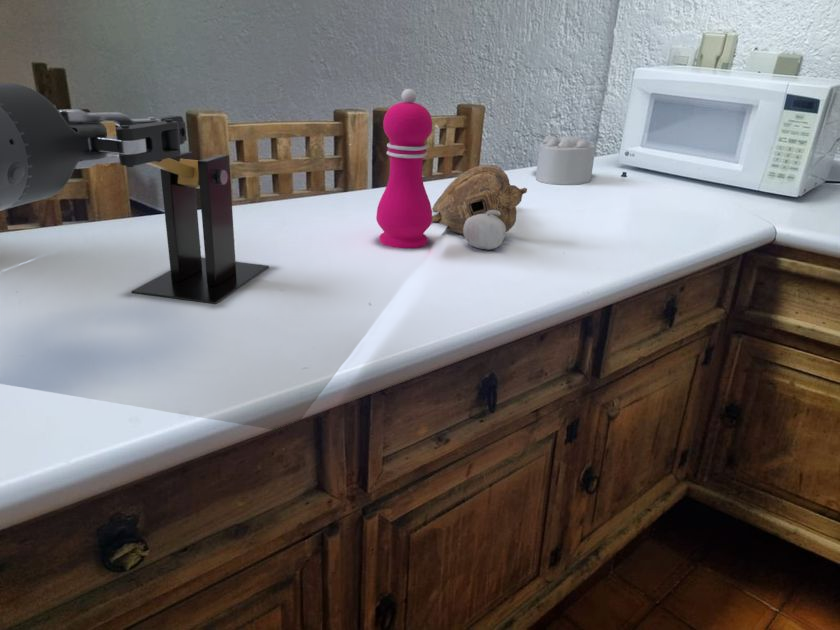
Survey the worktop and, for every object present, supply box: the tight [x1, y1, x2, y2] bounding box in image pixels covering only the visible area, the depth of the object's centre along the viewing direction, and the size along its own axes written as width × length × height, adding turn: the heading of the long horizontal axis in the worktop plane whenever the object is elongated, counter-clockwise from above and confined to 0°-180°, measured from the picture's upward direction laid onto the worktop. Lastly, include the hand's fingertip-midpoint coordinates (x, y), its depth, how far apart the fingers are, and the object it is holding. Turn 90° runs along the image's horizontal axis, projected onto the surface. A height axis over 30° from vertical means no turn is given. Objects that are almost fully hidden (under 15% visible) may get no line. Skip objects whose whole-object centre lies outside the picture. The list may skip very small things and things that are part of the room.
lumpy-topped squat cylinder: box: [535, 135, 596, 186], centre depth 138 cm, size 10×13×9 cm
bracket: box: [130, 150, 270, 305], centre depth 67 cm, size 12×9×14 cm
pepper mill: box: [376, 88, 433, 249], centre depth 82 cm, size 7×7×20 cm
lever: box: [108, 152, 200, 190], centre depth 60 cm, size 13×6×2 cm, turn 167°
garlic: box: [463, 210, 507, 251], centre depth 88 cm, size 6×5×5 cm
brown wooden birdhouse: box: [431, 164, 528, 236], centre depth 101 cm, size 10×24×15 cm
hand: (133, 125), depth 54 cm, fingers open, 8 cm apart
